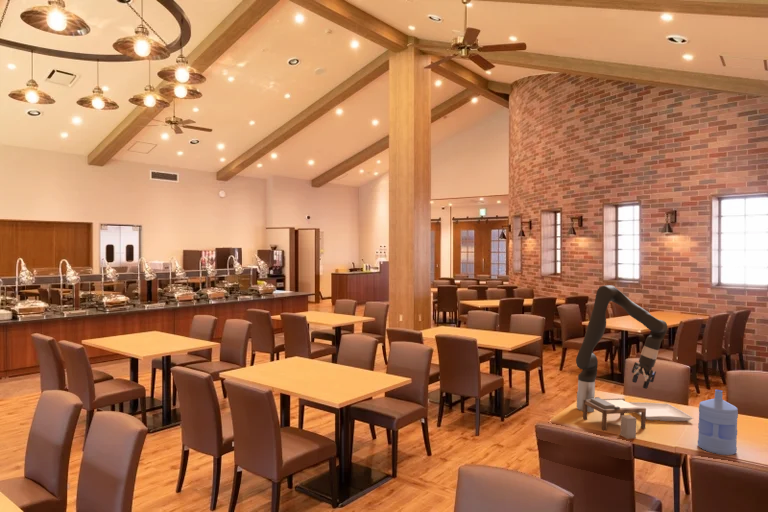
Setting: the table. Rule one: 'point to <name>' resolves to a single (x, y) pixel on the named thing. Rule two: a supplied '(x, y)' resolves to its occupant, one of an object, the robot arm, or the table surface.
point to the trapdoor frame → (613, 411)
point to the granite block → (628, 426)
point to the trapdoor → (612, 403)
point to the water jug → (717, 426)
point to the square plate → (662, 412)
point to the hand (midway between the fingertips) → (639, 385)
